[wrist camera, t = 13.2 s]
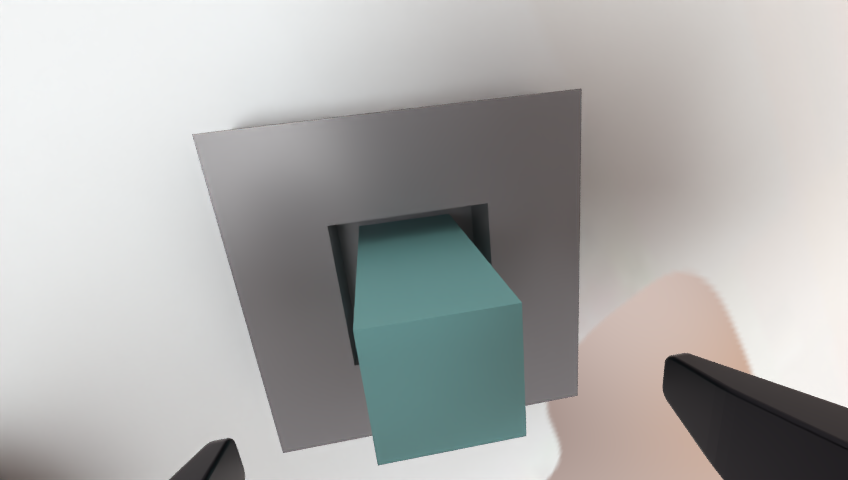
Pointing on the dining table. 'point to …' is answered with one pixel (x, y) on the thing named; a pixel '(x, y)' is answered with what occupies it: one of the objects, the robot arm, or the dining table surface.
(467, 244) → the teal rectangular block
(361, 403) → the socket block
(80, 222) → the dining table surface
